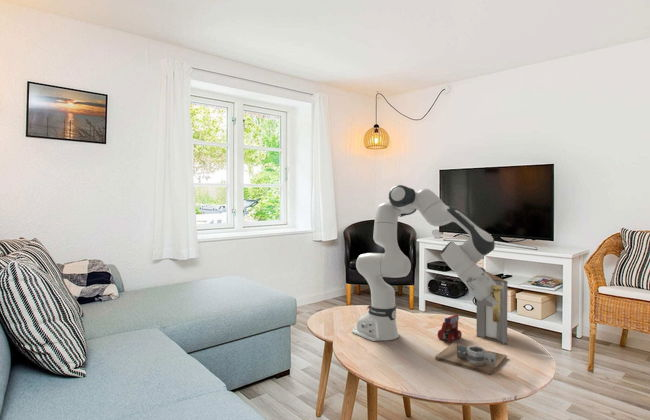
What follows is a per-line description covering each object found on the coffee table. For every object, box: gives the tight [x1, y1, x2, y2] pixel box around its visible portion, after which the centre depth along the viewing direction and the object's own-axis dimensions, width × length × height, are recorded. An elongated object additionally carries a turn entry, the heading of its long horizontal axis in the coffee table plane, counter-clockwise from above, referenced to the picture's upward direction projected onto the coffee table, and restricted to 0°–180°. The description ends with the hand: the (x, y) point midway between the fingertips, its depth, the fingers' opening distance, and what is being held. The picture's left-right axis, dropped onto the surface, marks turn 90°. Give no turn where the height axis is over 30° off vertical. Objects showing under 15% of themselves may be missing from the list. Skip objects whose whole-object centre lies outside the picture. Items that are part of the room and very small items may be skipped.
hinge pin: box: [491, 285, 502, 322], centre depth 155 cm, size 4×4×14 cm
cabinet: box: [476, 271, 508, 346], centre depth 183 cm, size 21×10×28 cm, turn 0°
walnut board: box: [434, 342, 508, 376], centre depth 159 cm, size 22×19×1 cm
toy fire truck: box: [437, 314, 462, 343], centre depth 181 cm, size 7×12×10 cm, turn 128°
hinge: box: [457, 345, 496, 367], centre depth 153 cm, size 15×6×5 cm, turn 50°
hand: (497, 303), depth 155 cm, fingers closed on hinge pin, 3 cm apart
